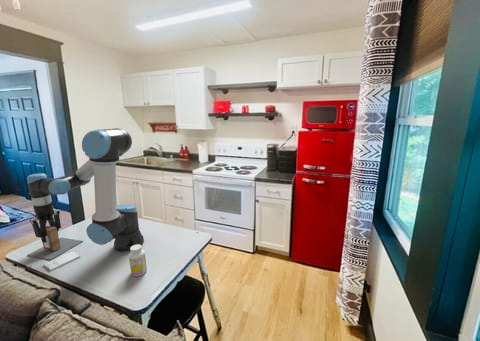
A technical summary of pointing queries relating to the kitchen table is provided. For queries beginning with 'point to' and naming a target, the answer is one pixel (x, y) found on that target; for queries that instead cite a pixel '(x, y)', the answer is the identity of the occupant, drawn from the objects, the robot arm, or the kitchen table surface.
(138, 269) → the supplement bottle
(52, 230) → the brown box
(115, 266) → the kitchen table surface
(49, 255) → the mat
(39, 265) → the kitchen table surface
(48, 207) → the robot arm
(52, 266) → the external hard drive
